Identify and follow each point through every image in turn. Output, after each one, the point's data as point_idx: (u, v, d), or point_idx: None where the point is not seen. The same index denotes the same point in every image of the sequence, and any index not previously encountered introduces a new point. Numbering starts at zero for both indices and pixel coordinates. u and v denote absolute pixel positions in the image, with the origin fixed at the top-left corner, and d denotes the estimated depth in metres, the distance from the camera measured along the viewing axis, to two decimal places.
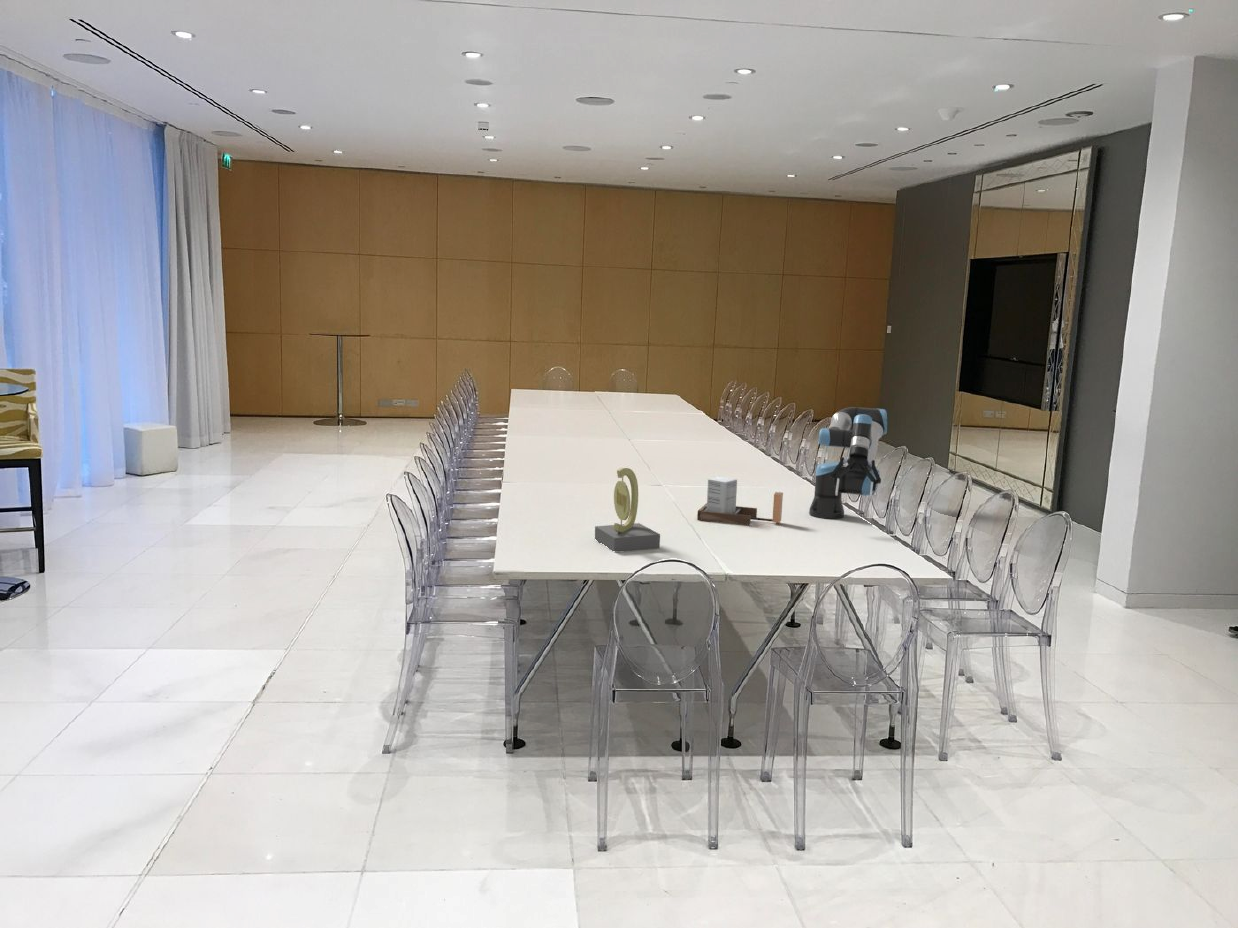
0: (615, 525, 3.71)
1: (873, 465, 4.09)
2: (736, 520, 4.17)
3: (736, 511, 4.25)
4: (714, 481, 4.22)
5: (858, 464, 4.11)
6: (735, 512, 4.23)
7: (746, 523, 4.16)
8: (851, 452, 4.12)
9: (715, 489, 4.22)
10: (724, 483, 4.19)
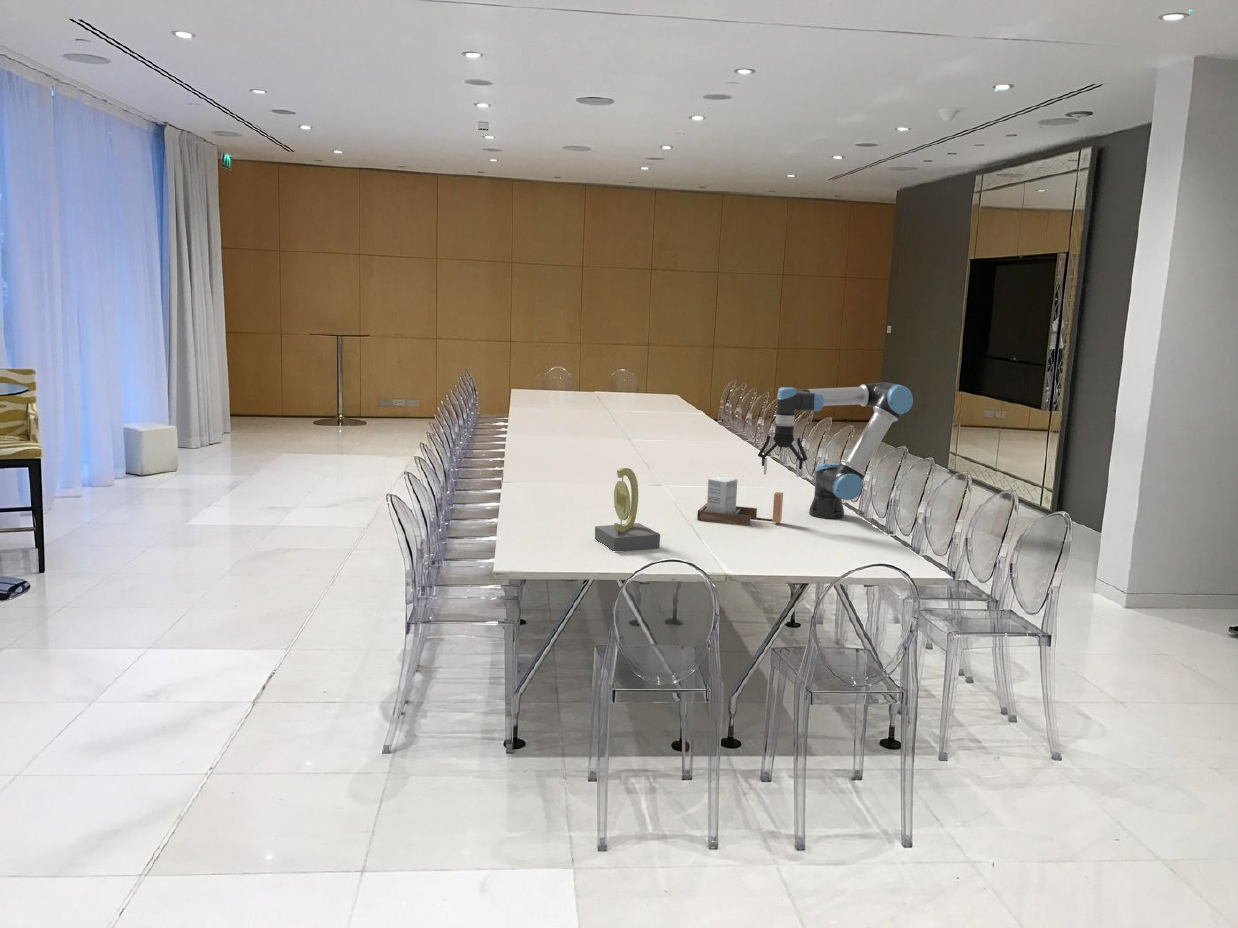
0: (615, 525, 3.71)
1: (799, 443, 4.11)
2: (736, 520, 4.17)
3: (736, 511, 4.25)
4: (714, 481, 4.22)
5: (784, 443, 4.13)
6: (735, 512, 4.23)
7: (746, 523, 4.16)
8: (776, 432, 4.12)
9: (716, 489, 4.22)
10: (724, 483, 4.19)
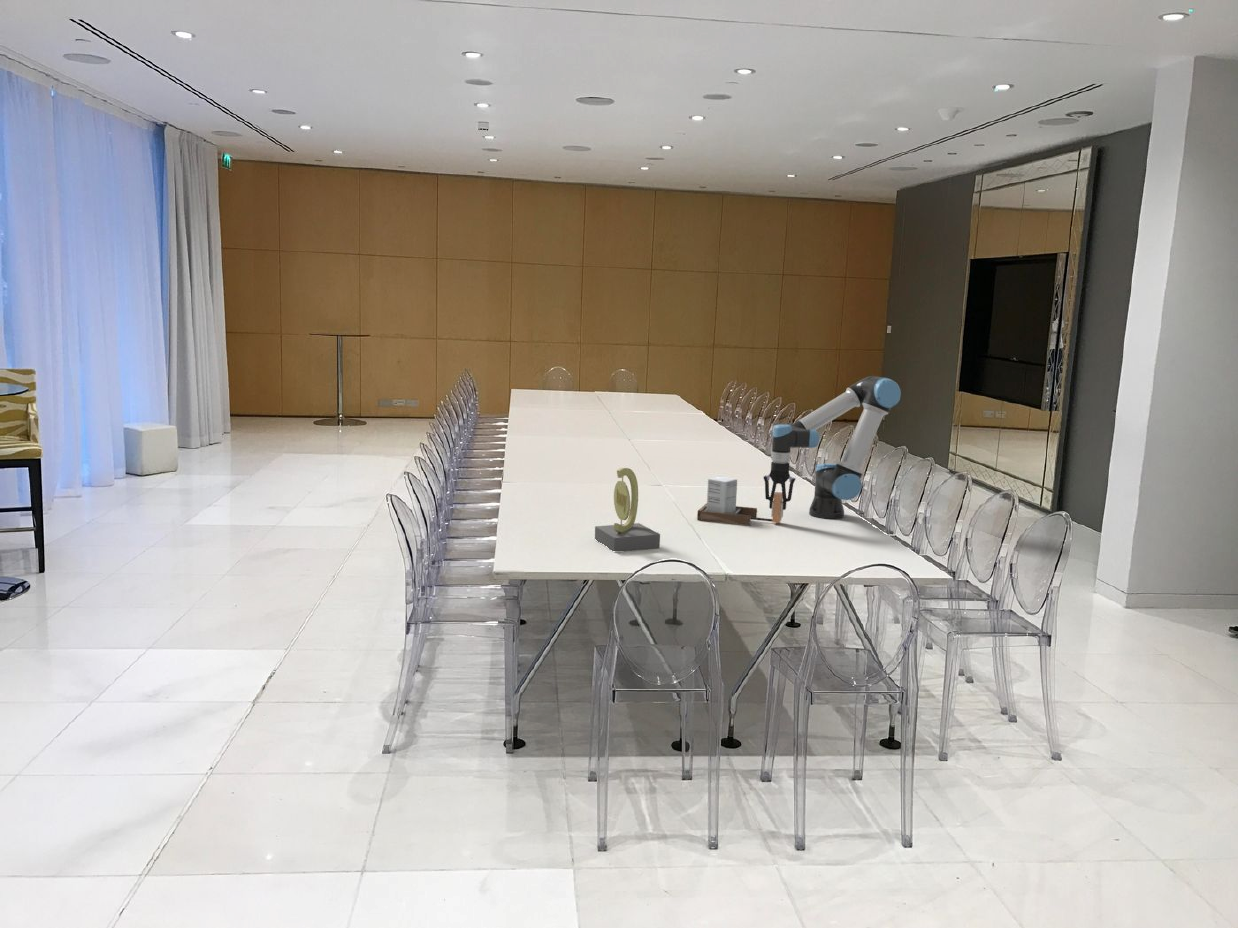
0: (615, 525, 3.71)
1: (791, 484, 4.15)
2: (736, 520, 4.17)
3: (736, 511, 4.25)
4: (714, 481, 4.22)
5: (780, 479, 4.16)
6: (735, 512, 4.23)
7: (746, 523, 4.16)
8: (772, 469, 4.15)
9: (715, 489, 4.22)
10: (724, 483, 4.19)
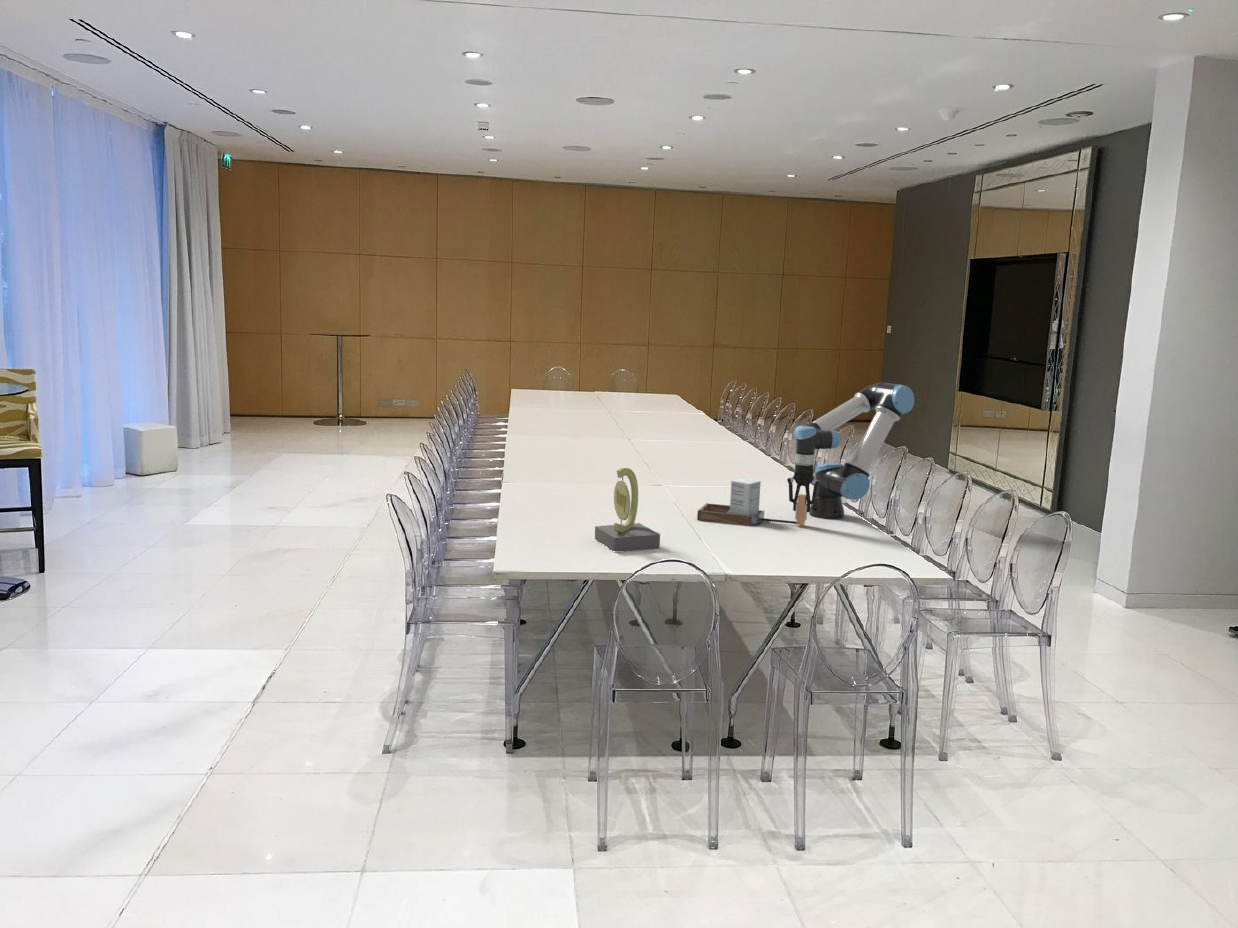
0: (615, 525, 3.71)
1: (815, 486, 4.12)
2: (736, 520, 4.17)
3: (759, 513, 4.22)
4: (737, 483, 4.19)
5: (804, 482, 4.13)
6: None
7: (746, 523, 4.16)
8: (796, 471, 4.12)
9: (739, 491, 4.19)
10: (748, 485, 4.16)
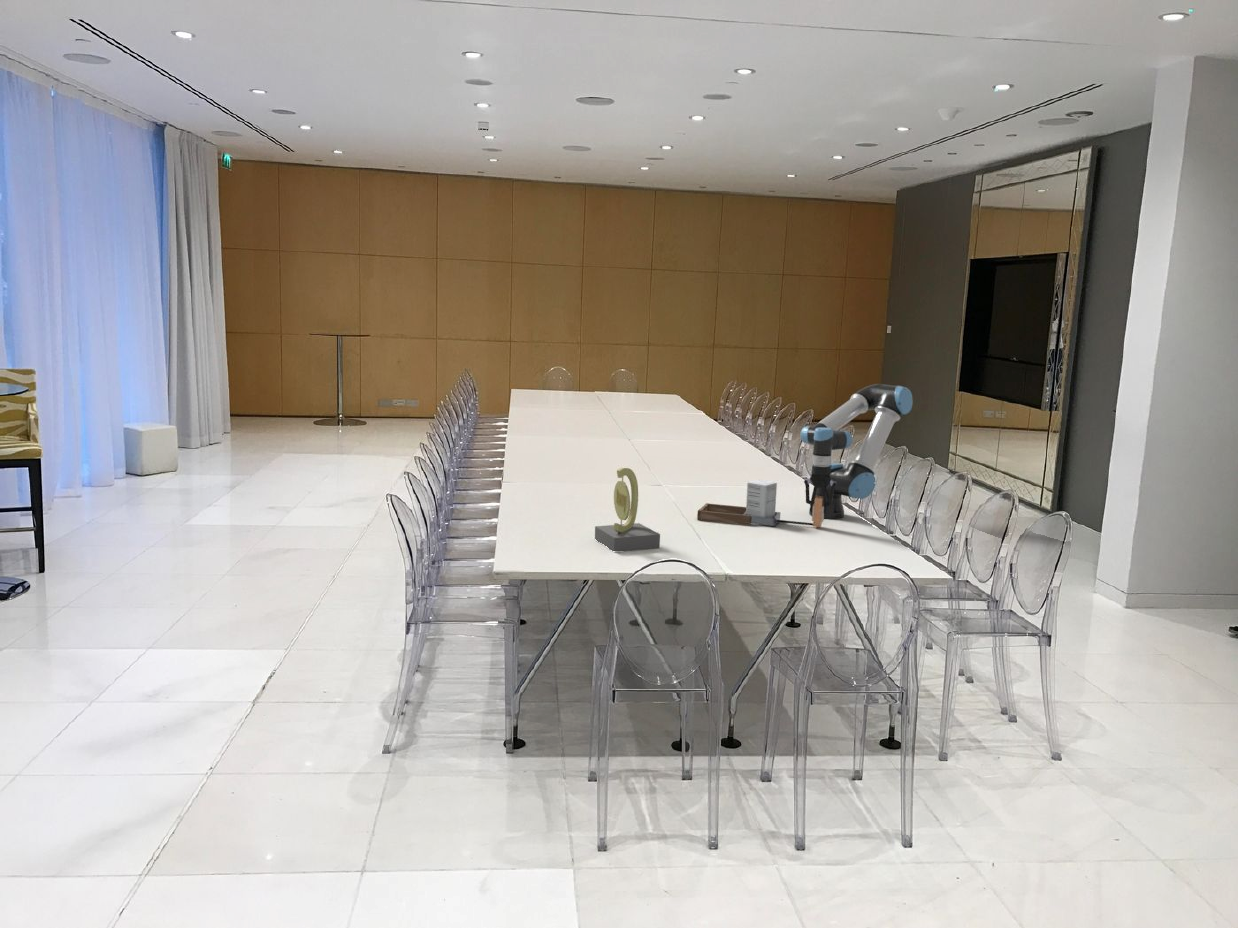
0: (615, 525, 3.71)
1: (832, 487, 4.10)
2: (736, 520, 4.17)
3: (776, 515, 4.20)
4: (754, 484, 4.17)
5: (821, 483, 4.11)
6: (775, 516, 4.18)
7: (746, 523, 4.16)
8: (813, 473, 4.10)
9: (755, 493, 4.17)
10: (764, 486, 4.14)
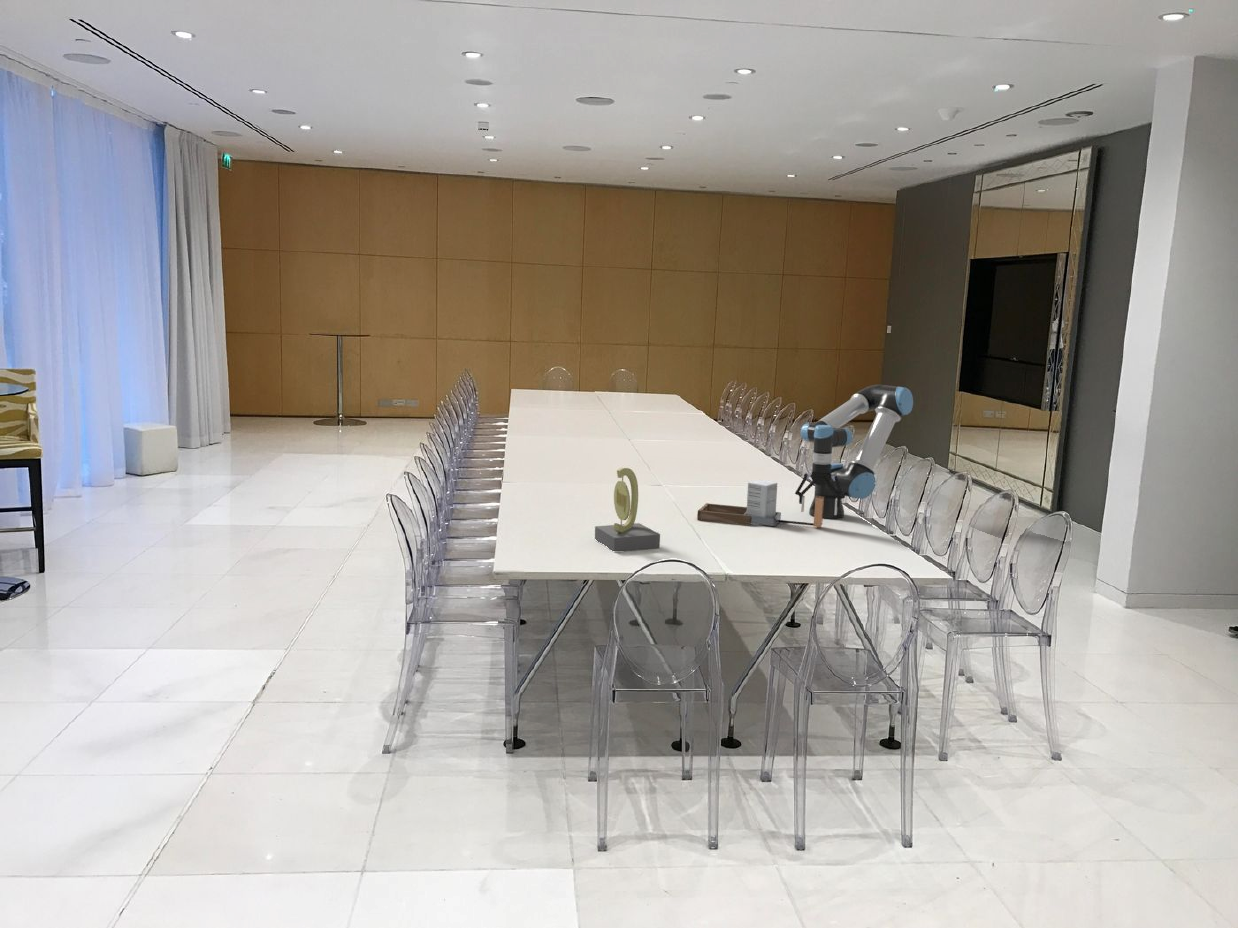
0: (615, 525, 3.71)
1: (836, 481, 4.09)
2: (736, 520, 4.17)
3: (776, 515, 4.20)
4: (754, 484, 4.17)
5: (821, 481, 4.11)
6: None
7: (746, 523, 4.16)
8: (813, 470, 4.10)
9: (756, 493, 4.17)
10: (765, 486, 4.14)
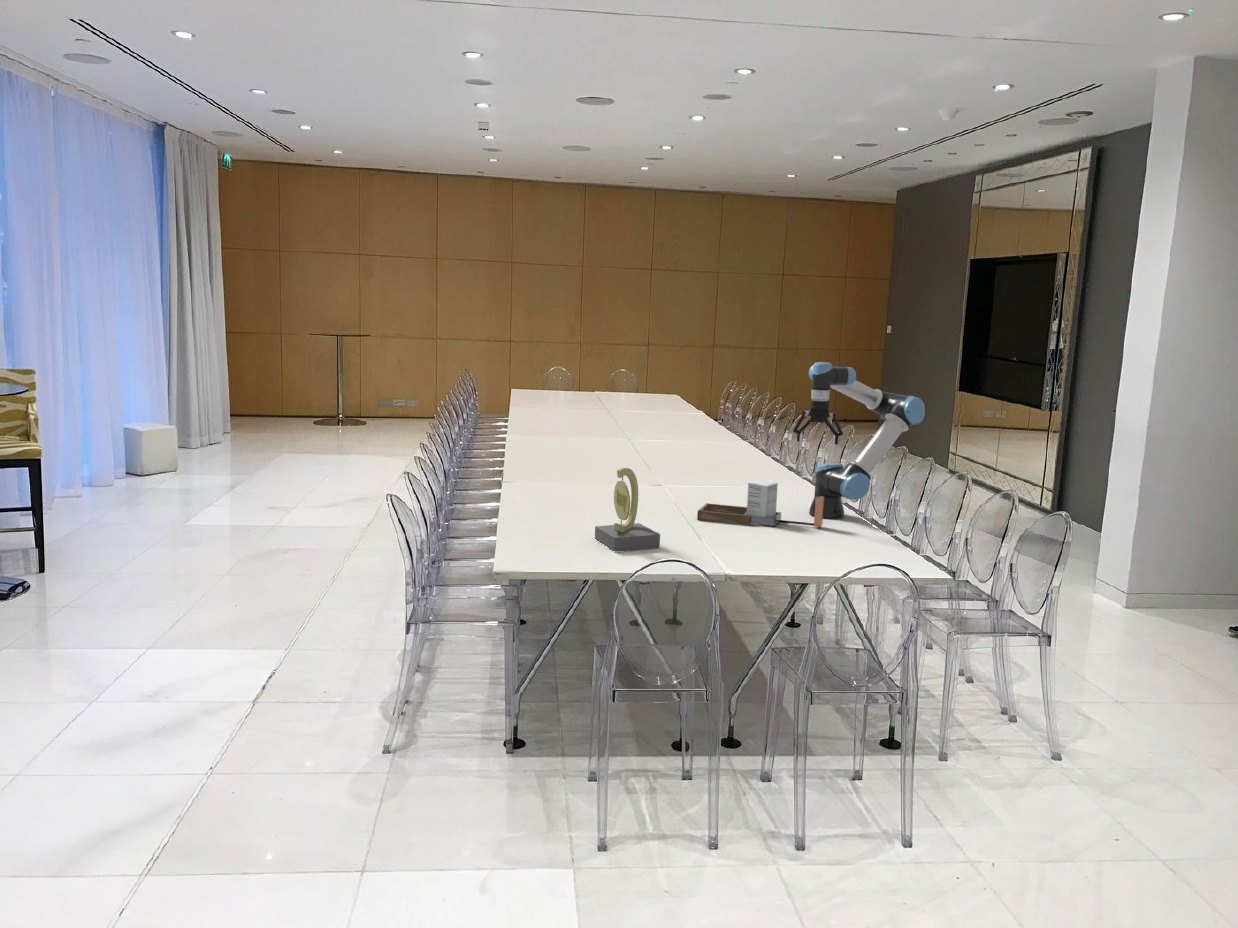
0: (615, 525, 3.71)
1: (834, 418, 4.09)
2: (736, 520, 4.17)
3: (776, 515, 4.20)
4: (755, 485, 4.17)
5: (819, 418, 4.11)
6: (776, 516, 4.18)
7: (746, 523, 4.16)
8: (812, 407, 4.10)
9: (756, 493, 4.17)
10: (765, 487, 4.14)
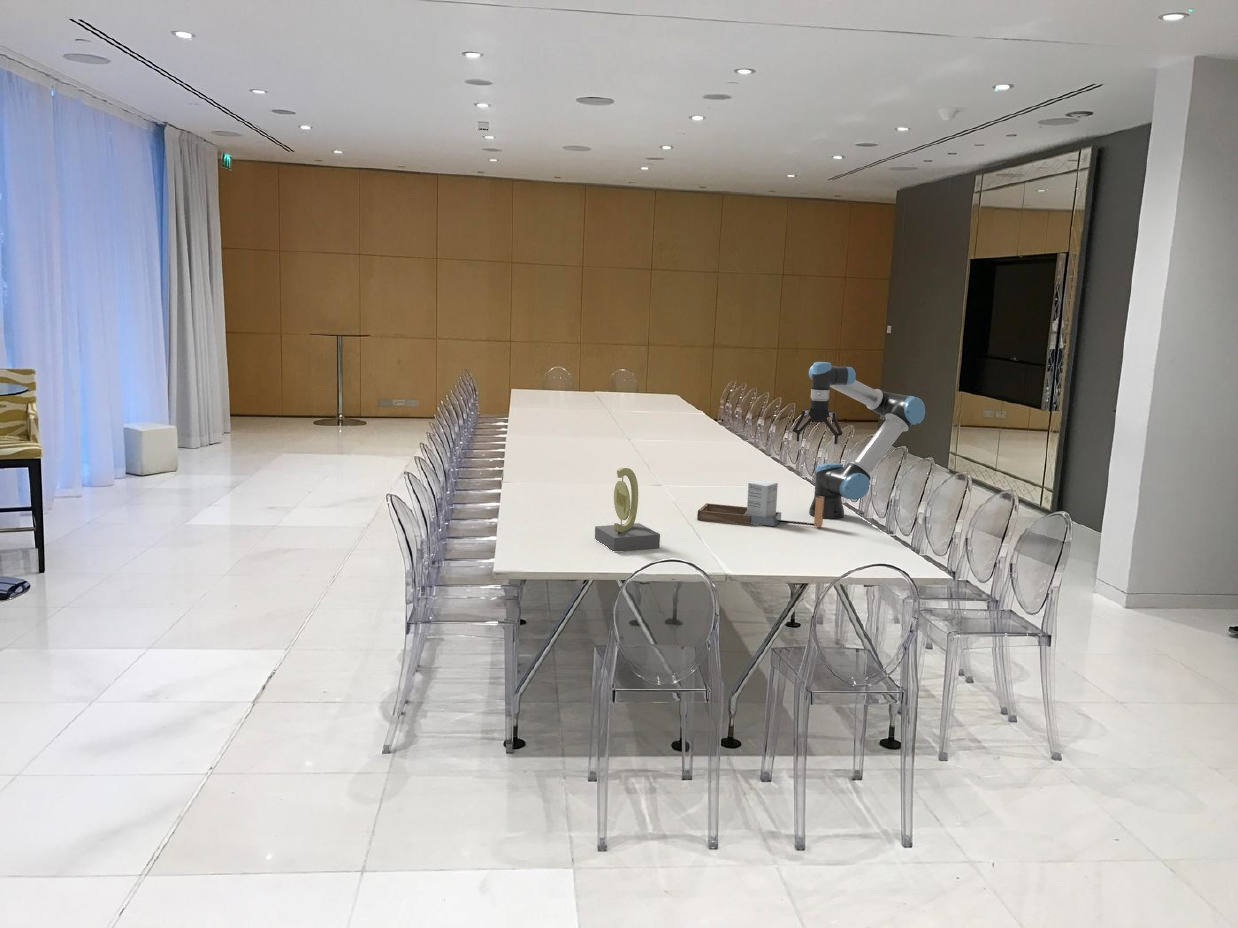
0: (615, 525, 3.71)
1: (834, 418, 4.09)
2: (736, 520, 4.17)
3: (776, 515, 4.20)
4: (755, 485, 4.17)
5: (819, 418, 4.11)
6: (776, 516, 4.18)
7: (746, 523, 4.16)
8: (811, 407, 4.10)
9: (756, 493, 4.17)
10: (765, 487, 4.14)
